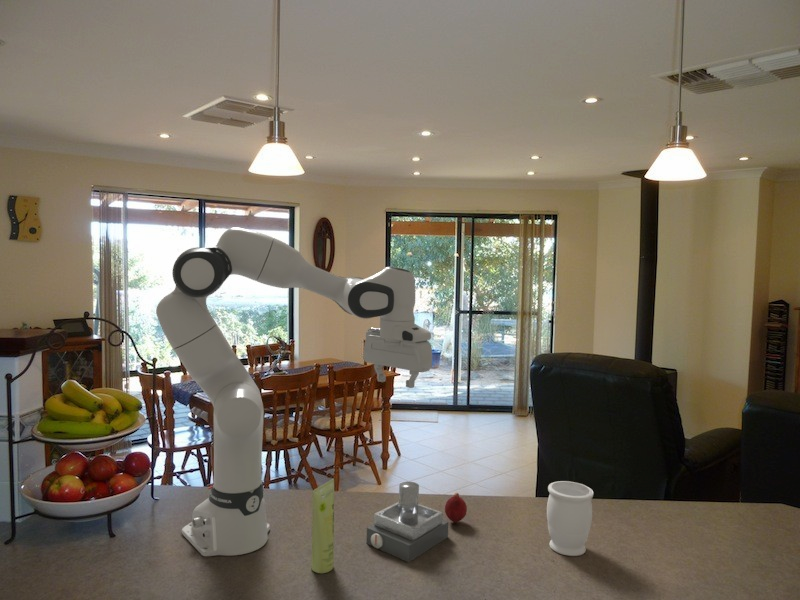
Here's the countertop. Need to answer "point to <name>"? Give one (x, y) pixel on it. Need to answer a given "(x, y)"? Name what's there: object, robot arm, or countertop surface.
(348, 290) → the robot arm
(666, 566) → the countertop surface
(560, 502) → the jar
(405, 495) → the grey cylinder
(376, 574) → the countertop surface
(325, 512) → the tube
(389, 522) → the pan
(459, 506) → the onion
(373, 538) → the scale
